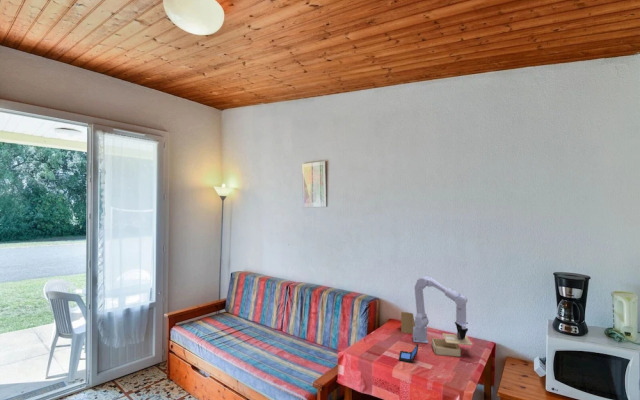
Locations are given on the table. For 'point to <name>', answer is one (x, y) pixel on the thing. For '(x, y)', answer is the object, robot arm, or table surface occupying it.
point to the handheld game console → (408, 355)
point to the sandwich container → (407, 322)
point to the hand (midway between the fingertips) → (461, 336)
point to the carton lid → (456, 339)
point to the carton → (445, 348)
